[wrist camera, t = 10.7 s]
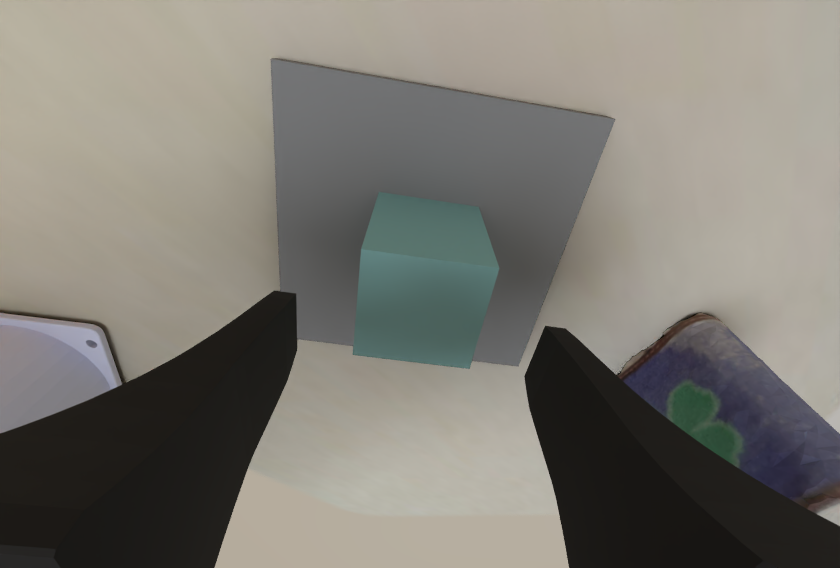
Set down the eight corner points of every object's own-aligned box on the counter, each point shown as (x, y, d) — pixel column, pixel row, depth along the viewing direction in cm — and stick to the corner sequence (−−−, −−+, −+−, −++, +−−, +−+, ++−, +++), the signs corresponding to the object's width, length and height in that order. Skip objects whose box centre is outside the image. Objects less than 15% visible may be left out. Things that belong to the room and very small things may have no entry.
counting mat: (515, 358, 20) (518, 366, 20) (286, 329, 20) (282, 337, 19) (608, 116, 14) (615, 119, 14) (276, 58, 13) (270, 58, 13)
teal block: (458, 290, 17) (469, 368, 13) (370, 278, 17) (352, 354, 13) (478, 206, 15) (499, 268, 11) (378, 191, 15) (361, 249, 11)
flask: (697, 302, 19) (962, 553, 9) (734, 329, 19) (1011, 583, 10) (561, 411, 23) (653, 658, 14) (596, 429, 23) (705, 673, 14)
